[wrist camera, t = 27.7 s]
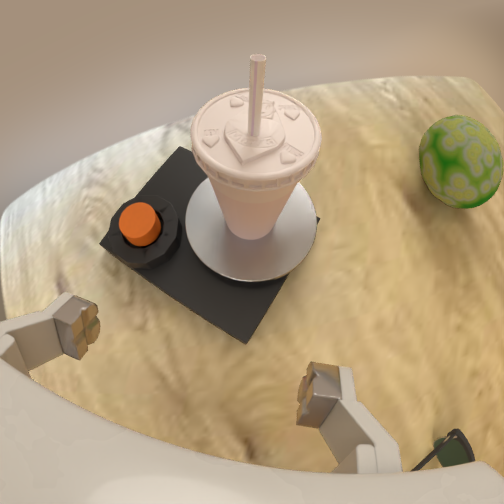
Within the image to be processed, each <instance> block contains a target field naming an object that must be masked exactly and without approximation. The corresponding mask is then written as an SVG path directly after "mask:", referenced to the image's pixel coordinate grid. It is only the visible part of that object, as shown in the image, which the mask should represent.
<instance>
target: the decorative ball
mask: <svg viewBox="0 0 504 504" xmlns="http://www.w3.org/2000/svg"><path fill="white" fill-rule="evenodd" d="M419 161H420V169H421V175H422V178H423V179H424V181H425V182H426V184H427V186H428V189H429V190H430V192H431V193H432V194H433V195H434V196H435V197H436V198H438V199H439V200H441V201H442V202H444V203H445V204H446V205H448V206H450V207H453V208H474V207H477V206H480V205H482V204H483V203H485V202H486V201H488V200H489V199H490V198H491V197H492V196H493V195H494V194H495V192H496V191H497V189H498V187H499V185H500V182H501V179H502V176H503V165H504V164H503V158H502V155H501V150H500V147H499V144H498V143H497V141H496V139H495V137H494V136H493V135H492V134H491V133H490V131H489V130H488V129H487V128H486V127H485V126H484V125H483V124H481V123H480V122H478V121H477V120H475V119H472V118H470V117H467V116H463V115H454V116H450V117H446V118H443V119H441V120H439V121H437V122H436V123H435V124H433V125H432V126H431V127H430V128H429V129H428V130H427V131H426V132H425V134H424V135H423V137H422V139H421V143H420V146H419Z"/></svg>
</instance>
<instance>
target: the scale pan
mask: <svg viewBox="0 0 504 504" xmlns="http://www.w3.org/2000/svg"><path fill="white" fill-rule="evenodd" d="M185 228H186V234H187V238H188V241H189V243H190V245H191V248H192V250H193V251H194V253H195V255H196V256H197V257H198V259H199V260H200V261H201V262H202V263H203V264H204V265H205V266H206V267H207V268H208V269H210V270H211V271H212V272H214V273H215V274H217V275H219V276H221V277H223V278H226V279H229V280H231V281H236V282H240V283H263V282H268V281H272V280H275V279H278V278H280V277H282V276H284V275H286V274H288V273H289V272H291V271H292V270H294V269H295V268H296V267H297V266H298V265H299V264H300V263H301V262H302V261H303V260H304V259H305V257H306V256H307V254H308V252H309V251H310V249H311V247H312V245H313V243H314V239H315V236H316V230H317V217H316V211H315V208H314V204H313V202H312V200H311V198H310V196H309V194H308V193H307V191H306V190H305V189H304V187H303V186H302V185H301V184H300V183H299V182H298V183H297V185H296V187H295V188H294V190H293V192H292V194H291V196H290V197H289V199H288V201H287V203H286V205H285V206H284V208H283V210H282V212H281V214H280V215H279V217H278V219H277V221H276V223H275V224H274V226H273V228H272V230H271V231H270V232H269V233H268V234H267V235H265V236H264V237H262V238H259V239H255V240H247V239H242V238H240V237H238V236H236V235H235V234H233V233H232V232H231V231H230V229H229V228H228V226H227V223H226V221H225V218H224V216H223V213H222V210H221V208H220V205H219V203H218V200H217V198H216V195H215V193H214V190H213V187H212V185H211V182H210V180H209V178H208V177H207V178H206V179H205V180H204V181H203V182H202V183H201V184H200V185H199V186H198V187H197V189H196V190H195V191H194V193H193V195H192V196H191V198H190V200H189V203H188V206H187V210H186V215H185Z"/></svg>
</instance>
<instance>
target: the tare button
mask: <svg viewBox="0 0 504 504" xmlns="http://www.w3.org/2000/svg"><path fill="white" fill-rule="evenodd" d="M119 228H120V230H121V232H122V234H123V235H124V236H125V237H126V238H127V239H128V241H129V242H130V243H131V244H133V245H135V246H147V245H149V244H151V243H152V242H154V241H155V240H156V239H157V237H158V236H159V233H160V230H161V223H160V220H159V218H158V217H157V215H156V213H155V211H154V209H153V208H152V207H151V206H150V205H149V204H146V203H142V202H139V203H134V204H132V205H130V206H128V207H127V208H126V209H125V210H124V211H123V212H122V214H121V216H120V219H119Z"/></svg>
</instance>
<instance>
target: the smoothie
mask: <svg viewBox="0 0 504 504" xmlns="http://www.w3.org/2000/svg"><path fill="white" fill-rule="evenodd" d="M265 63H266V57H265V56H264V55H261V54H254V55H252V56H251V58H250V81H249V88H244V89H236V90H232V91H229V92H226V93H223V94H221V95H218V96H217V97H215V98H213V99H211V100H210V101H209V102H207V103H206V104H205V105H204V106H203V107H202V108H201V109H200V110H199V111H198V112H197V114H196V115H195V117H194V119H193V122H192V125H191V141H192V152H193V155H194V157H195V160H196V162H197V164H198V165H199V166H200V167H201V169H202V170H203V171H204V172H205V173H206V174H207V175H208V178H209V180H210V182H211V185H212V187H213V190H214V193H215V195H216V198H217V200H218V203H219V205H220V208H221V210H222V213H223V216H224V218H225V221H226V223H227V226H228V228H229V229H230V231H231V232H232V233H233V234H235V235H236V236H238V237H240V238H242V239H247V240H255V239H259V238H262V237H264V236H265V235H267V234H268V233H269V232H270V231H271V230H272V228H273V226H274V224H275V223H276V221H277V219H278V217H279V215H280V214H281V212H282V210H283V208H284V206H285V205H286V203H287V201H288V199H289V197H290V196H291V194H292V192H293V190H294V188H295V187H296V185H297V183H298V182H299V180H301V179H302V178H304V177H305V176H306V175H307V174H308V173H309V171H310V170H311V169H312V168H313V167H314V165H315V163H316V160H317V158H318V155H319V149H320V145H321V139H322V137H321V129H320V126H319V123H318V121H317V119H316V117H315V116H314V115H313V113H312V112H311V111H310V110H309V109H308V108H307V107H306V106H305V105H304V104H302V103H301V102H300V101H298V100H297V99H295V98H293V97H291V96H289V95H287V94H284V93H282V92H278V91H275V90H271V89H264V88H263V86H264V74H265Z"/></svg>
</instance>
